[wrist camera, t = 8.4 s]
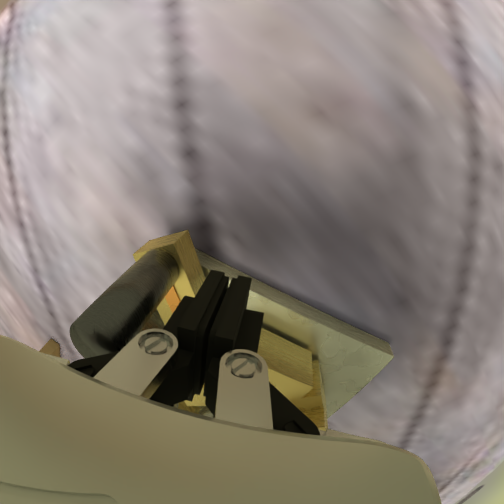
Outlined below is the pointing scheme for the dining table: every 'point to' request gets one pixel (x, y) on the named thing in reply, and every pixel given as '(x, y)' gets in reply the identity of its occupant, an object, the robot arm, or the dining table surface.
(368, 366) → the housing plate
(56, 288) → the dining table surface
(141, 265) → the tan angular piece
